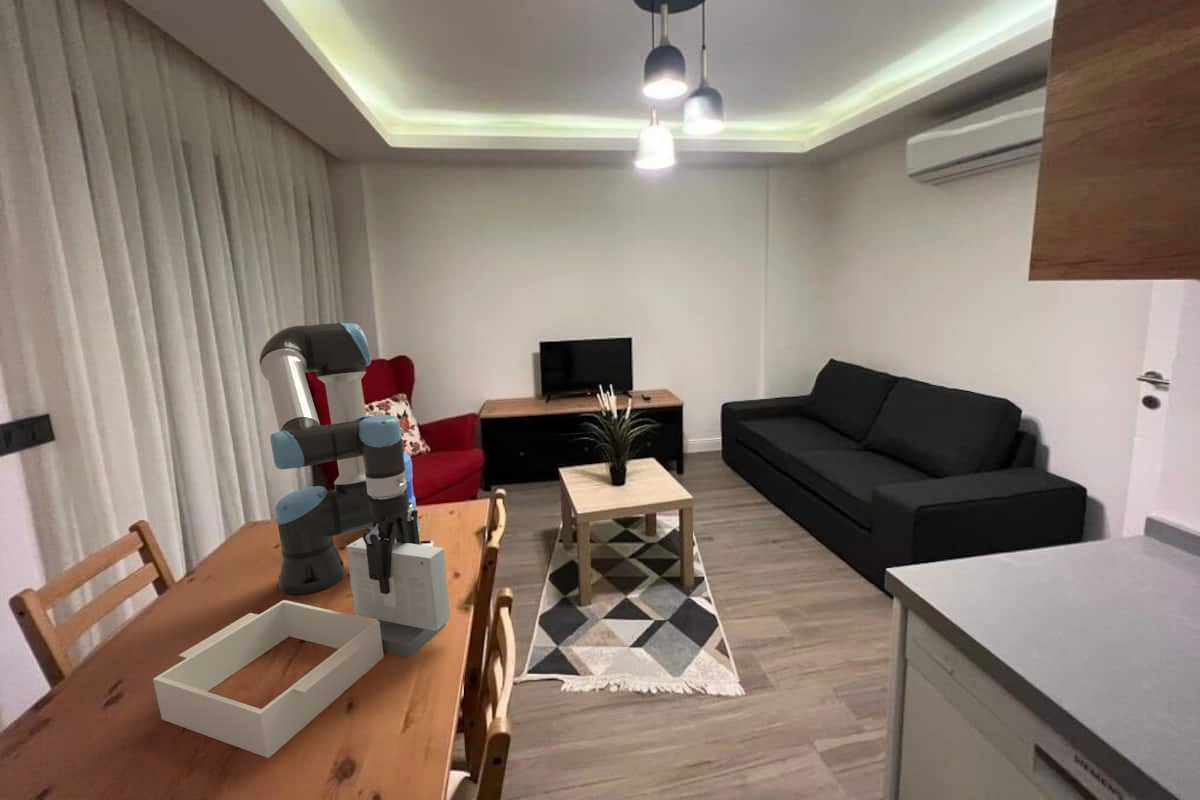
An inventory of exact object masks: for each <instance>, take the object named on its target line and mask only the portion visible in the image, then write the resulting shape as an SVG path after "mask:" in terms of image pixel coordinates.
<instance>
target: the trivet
mask: <svg viewBox="0 0 1200 800" xmlns="http://www.w3.org/2000/svg"><path fill="white" fill-rule="evenodd" d="M376 620H377V619H376ZM377 621H379V623H380V631H381V639H382V647H383V653H386V654H389V655H394V656H399V657H402V658H406V659H410V658H411V657H412V656H413V655H415V653H417V652H418V651H419V650H420V649H421V648H422V647H423V646H424V645H425V644H427V642H429V641H430V640H431V639H432V637H434V636H435V635H436V634H437V633H438V632H439V631H441V629H442V628H443V627H444V626H445V625H446V623H447V622H446V623H445V624H444V625H443V626H442V627H441V628H439V629H438V630H437V631H433V630H428V629H423V628H418V627H413V626H408V625H403V624H398V623H392V622H387V621H382V620H377Z"/></svg>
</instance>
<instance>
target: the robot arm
mask: <svg viewBox="0 0 1200 800" xmlns="http://www.w3.org/2000/svg"><path fill="white" fill-rule="evenodd" d="M259 355H260V356H259V360H258V361H259V368H260V373H261V374H262V375H263V377H264V378H265V379H266V380H267V381H268V384H269V385H268V386H269V391H270V394H271V400H272V403H273V404H272V405H273V408H274V412H275V418H276V423H277V425H278V426H277V427H278V432H273V433H271V435H270V445H271V450H272V452H271V453H272V456H273V457H272V458H273V463H274V466H275V468H276V469H278V470H288V469H297V468H298V469H302V468H303V467H309V466H314V465H320V464H325V463H329V462H335V461H336V462H337V468H338V477H337V478H335V480H334V482H333V485H334V489H332V490H327V489H326V487H324V486H322V485H317V486H309V487H305V488H300V489H298V490H295V491H293V492H289V493H288V494H287V495H285V496H283V497H282V498H280V499H279V500H278V502H277V503H276V505H275V515H276V516H275V517H276V519H275V523H276V525H277V528H278V535H279V542H280V549H281V555H282V561H281V566H280V572H279V575H278V578H277V579H278V580H277V582H278V586H279V588H278V589H279V591H280V592H282V593H283V594H284V595H291V596H295V595H296V596H301V595H308V594H309V595H310V594H312V593H316V592H320V591H322V590H325V589H327V588H329V587H332V586H333V585H336V584H337V583H338V582H340V581H341V580H342V579H343V578H344V577H345V574H346V568H345V563H344V560H343V559H342V557H341V556H340V554H339V552H338V549H336V546H335V542H334V537H338V536H342V535H345V534H348V533H353V532H357V531H361V530H365V529H368V528H373V529H372V530H370V531H369V533H368V532H364V533H363V535H362V537H363V540H364V542H365V544H366V550H367V560H368V569H369V578H370V579H372V580H377V581H379V585H380V592H381V593H382V594H383V602H384V606H389V607H394V608H395V607H396V606H397V601H396V593H395V584H394V576H390V571H391V558H392V555H391V553H392V545H393V544H394V543H395V542H400V543H410V544H418V545H420V544H421V540H420V541H419V533H418V525H417V516H418V515H419V511H418V510H417V511H416V510H408V508H409V498H408V492H407V483H406V475H405V464H404V455H403V453H404V447H403V446H404V445H403V431H402V429H401V424H400V420H399V418H398V417H397V416H395V415H390V414H383V415H382V414H379V415H374V416H373V415H367V413H366V405H365V398H364V391H363V386H362V379H363V378H364V376H365V375H366V373H367V369H366V367H368V366H370V365H371V364H372V357H371V351H370V346H369V344H368V341H367V337H366V335H365V332H364V331H363V329H362V328H361V326H360V325H359V324H356V323H354V322H352V323H351V322H336V323H335V322H334V323H324V324H323V323H321V324H312V325H311V324H310V325H309V324H307V325H294V326H289V327H286V328H283V329H282V330H279V331H278V332H277V333H275V334H274V335H272V337H270V338H269V339H268V340H267V342H266V343H265V344H264V346H263V348H262V350H261V352H260V354H259ZM309 372H316V377H317V379H318V380H319V381H321V382H322V383H323V384H324V385H325V391H326V399H327V405H328V410H329V411H328V412H329V417H330V424H324V425H321V423H320V420H319V417H318V413H317V410H316V407H315V404H314V403H315V402H314V401H313V397H312V393H311V390H310V388H309V384H308V383H309V382H308V381H307V378H306V374H305V373H309ZM418 517H419V516H418Z"/></svg>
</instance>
